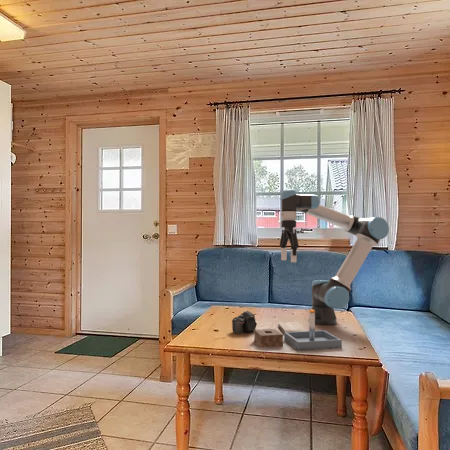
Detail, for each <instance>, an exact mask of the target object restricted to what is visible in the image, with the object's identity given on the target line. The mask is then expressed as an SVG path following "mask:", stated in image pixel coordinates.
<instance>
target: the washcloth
mask: <svg viewBox="0 0 450 450" xmlns="http://www.w3.org/2000/svg"><path fill="white" fill-rule="evenodd" d="M277 326H278V329H280V330H279V331H281V332H282V334H283V335H284V332H298V331H308V330H307V329H306V328H305V327H304V326H303V325H302V324H301V323H300V322H298V321H292V322H290V321H289V322H288V321H279V322H278V325H277Z"/></svg>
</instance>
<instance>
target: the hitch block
mask: <svg viewBox="0 0 450 450" xmlns="http://www.w3.org/2000/svg"><path fill="white" fill-rule="evenodd" d="M253 334H254V335H253V336H254V337H253V338H254V339H253V340H254V342H255V343H256V344H257V345H258V346H259V348H273V347H275V348H276V347H283V346H284V334H283V332H282V333H281V332H280V330H278V329H276V328H260V329H255V330H254V333H253Z"/></svg>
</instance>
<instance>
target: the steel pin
mask: <svg viewBox="0 0 450 450" xmlns="http://www.w3.org/2000/svg"><path fill="white" fill-rule="evenodd" d="M308 327H309V328H308V331H309V341H315V331H316V328H315V327H316V323H315V310H313V309H309V315H308Z"/></svg>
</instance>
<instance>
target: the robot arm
mask: <svg viewBox="0 0 450 450" xmlns="http://www.w3.org/2000/svg"><path fill="white" fill-rule="evenodd" d="M297 212H301V213H303V214H306V215H309V216H311V217H313V218H316V219H318V220H321V221H323V222H326V223H329V224H332V225H334V226H337V227H339V228H342V229H343V230H344V231H345V232H347V233H349V234H352V235H354V236H356V240H355V242H354V244H353V245H352V247H351V248H350V251H349V252H348V254H347V256H346V257H345V258H344V261H343V262H342V263H341V265H340V266H339V267H340V268H339V269H338V271H337V272H336V274H335V276H334V277H330V278H329V280H328V279H327V280H325V279H324V280H312V283H311V309H313V310H315V325H316V324H317V325H335V324H337V323H338V321H337V320H338V318H337V315H336V313H335V310H338V309H339V310H340V309H343V308H345V307H346V306H347V305H348V303H349V302H350V292H351V290H352V288H351V284H352V282H353V281H354V279H355V277H356V276H357V274H358V272H359V270H360V268H361V267H362V265H363V264H364V263H365V260H366V259H367V256H368V255H369V253H370V252H371V250H372V248H373V247H376V246H378V244H379V242H380V240H383V239H385V238H386V237H387V236H388V234H389V232H390V227H389V223H388V222H387V220H386V219H385V218H383V217H380V216H370V217H358V216H354V215H347V214H344V213H342V212H340V211H337V210H334V209H332V208H330V207H327V206H325V205H322V204H320V197H319V195H317V194H306V193H305V194H301V193H300V194H298V193H297V190H296V189H284V190H282V192H281V213H280V215H281V223H280V224H281V228H282V229H281V235H280V240H279V247H280V250H281V251H280V253H281V254H280V256H281V257H280V261H287V260H288V259H287V256H288V255H287V253H288V252H287V248H288V246H287V245H288V241H289V244H290V263H298V262H297V253H298V252H297V251H298V249H299V247H300V246H299V240H298V236H297V229H295V228H296V227H297Z"/></svg>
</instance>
